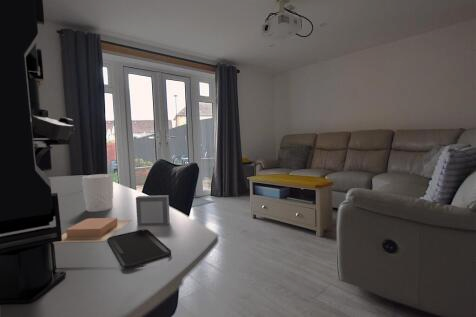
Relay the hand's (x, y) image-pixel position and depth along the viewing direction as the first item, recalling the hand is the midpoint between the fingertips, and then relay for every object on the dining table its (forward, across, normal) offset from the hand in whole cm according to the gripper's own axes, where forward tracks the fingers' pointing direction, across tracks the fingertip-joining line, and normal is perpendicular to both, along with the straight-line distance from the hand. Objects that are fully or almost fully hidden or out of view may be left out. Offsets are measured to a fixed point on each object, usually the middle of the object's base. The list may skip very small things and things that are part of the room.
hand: (29, 181), depth 51 cm
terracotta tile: (+11, +6, -11) cm, 17 cm away
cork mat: (+12, +3, -11) cm, 17 cm away
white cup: (+12, +21, -2) cm, 24 cm away
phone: (+13, -6, -24) cm, 28 cm away
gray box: (+12, +6, -23) cm, 27 cm away
